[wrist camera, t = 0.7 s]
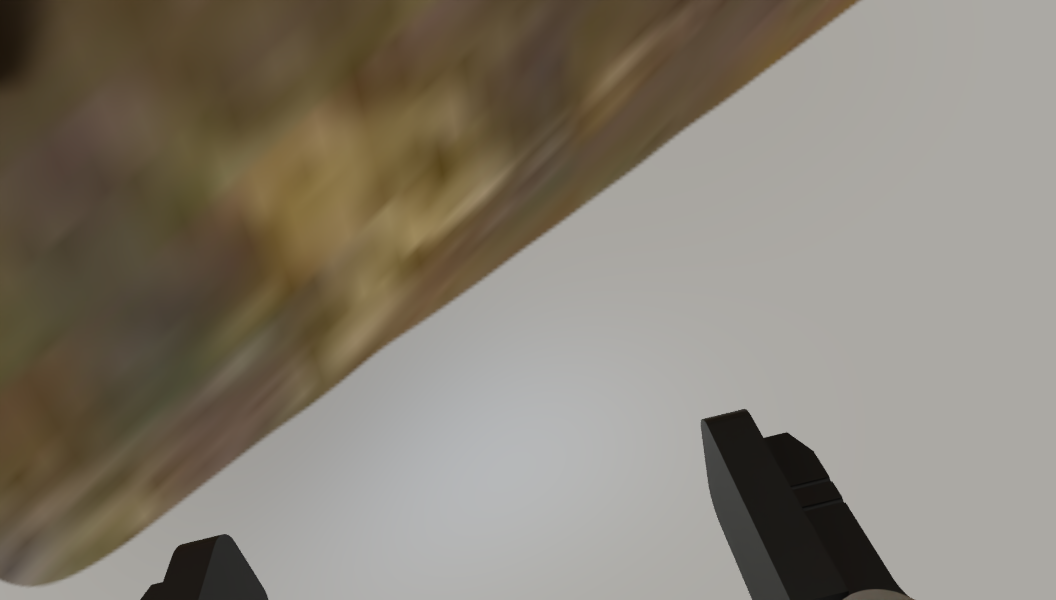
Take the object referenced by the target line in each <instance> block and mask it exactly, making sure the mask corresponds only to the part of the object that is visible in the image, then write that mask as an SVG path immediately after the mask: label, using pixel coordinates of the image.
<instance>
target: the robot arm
mask: <svg viewBox="0 0 1056 600" xmlns="http://www.w3.org/2000/svg"><path fill="white" fill-rule="evenodd" d="M701 431H702V439H703V446H704V453H705V462H706V470H707V477H708V484H709V489H710V494H711V498H712V502H713V505H714V509H715V512H716V515H717V517H718V520H719V522H720V525H721V527H722V530H723V532H724V534H725V537H726V539H727V541H728V544H729V546H730V548H731V551H732V553H733V555H734V558H735V560H736V562H737V565H738V567H739V570H740V572H741V574H742V577H743V579H744V581H745V584H746V586H747V588H748V591H749V593H750V595H751V598H752V600H914V599H912V598H910V597H909V596H907V595H906V594H905V592H903V590H902V589H901V588H900V587H899V586H898V585H897V583H896V582H895V581H894V579H893V578H892V576H891V574H890V573H889V571H888V570H887V568H886V566H885V565H884V563H883V562H882V560H881V558H880V557H879V555H878V554H877V552H876V550H875V549H874V547H873V546H872V544H871V543H870V541H869V539H868V538H867V536H866V535H865V533H864V531H863V530H862V528H861V526H860V525H859V523H858V522H857V520H856V519H855V517H854V516H853V514H852V512H851V511H850V509H849V507H848V506H847V504H846V503H844V502H843V499H842V496H841V495H840V493H839V491H838V490H837V488H836V487H835V485H834V483H833V482H831V481H830V478H829V475H828V474H827V472H826V471H825V469H824V468H823V466H822V464H821V463H820V461H819V459H818V458H817V456H816V455H815V453H814V451H812V450H811V449H810V448H808V447H807V446H805V445H804V444H803V443H801V442H800V441H798V440H797V439H796V438H794V437H793V436H791V435H790V434H789V433H782V434H778V435H774V436H770V437H766V438H763V436H762V435H761V433H760V431H759V429H758V427H757V426H756V424H755V422H754V420H753V418H752V417H751V415H750V413H749V412H748V411H747V410H746V409H742V410H738V411H735V412H730V413H726V414H722V415H718V416H714V417H710V418H705V419H702V420H701ZM141 600H268V598H267V594H266V592H265V590H264V588H263V587H262V585H261V583H260V582H259V580H258V578H257V577H256V575H255V574H254V572H253V570H252V569H251V567H250V566H249V564H248V562H247V561H246V559H245V558H244V556H243V555H242V553H241V551H240V550H239V548H238V546H237V545H236V543H235V542H234V540H233V539H232V538H231V537H230V536H229V535H226V534H223V535H218V536H214V537H211V538H206V539H203V540H198V541H194V542H190V543H186V544H182V545H180V546H178V547H177V548H176V550H175V551H174V553H173V556H172V558H171V561H170V564H169V567H168V569H167V572H166V575H165V578H164V581H163V582H162V583H157V584H153V585H151V586H150V588H149V589H148V590H147V592H146V593H145V594H144V596H143V597H142V598H141Z"/></svg>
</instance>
